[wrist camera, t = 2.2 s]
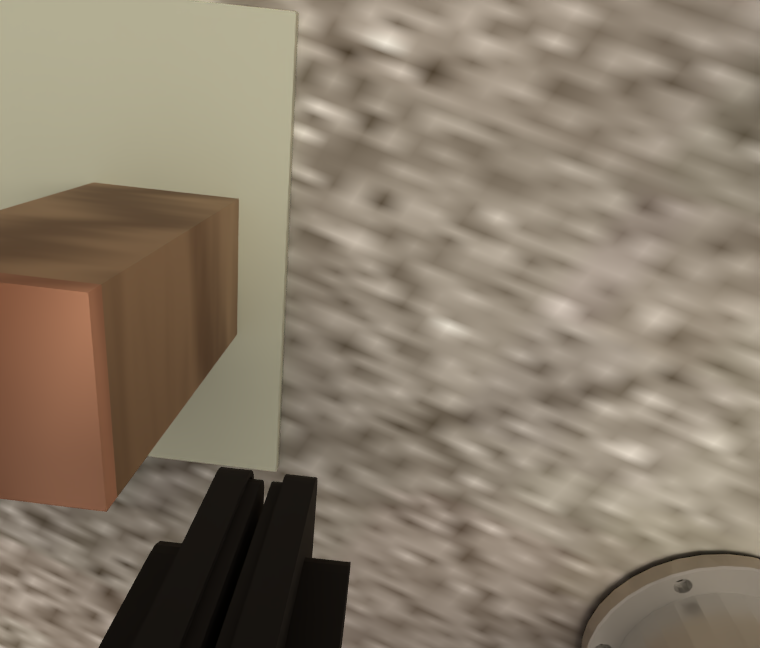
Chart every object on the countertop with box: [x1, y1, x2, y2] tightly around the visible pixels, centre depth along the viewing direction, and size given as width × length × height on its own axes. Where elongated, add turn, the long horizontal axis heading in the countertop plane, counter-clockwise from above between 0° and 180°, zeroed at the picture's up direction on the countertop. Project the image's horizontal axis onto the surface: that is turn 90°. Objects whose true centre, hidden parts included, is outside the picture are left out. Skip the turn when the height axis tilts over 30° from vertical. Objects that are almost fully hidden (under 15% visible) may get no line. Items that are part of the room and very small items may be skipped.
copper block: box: [0, 182, 239, 512], centre depth 20 cm, size 6×6×12 cm
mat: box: [0, 0, 299, 472], centre depth 26 cm, size 20×20×1 cm
